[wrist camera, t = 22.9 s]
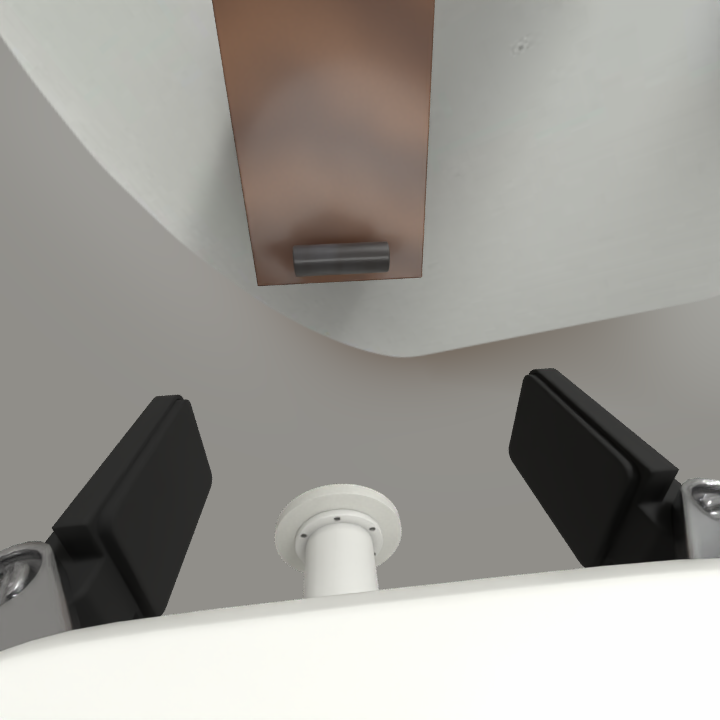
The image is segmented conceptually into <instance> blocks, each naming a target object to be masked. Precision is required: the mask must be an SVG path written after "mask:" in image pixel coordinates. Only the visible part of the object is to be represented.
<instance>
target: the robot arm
mask: <svg viewBox="0 0 720 720" xmlns="http://www.w3.org/2000/svg"><path fill="white" fill-rule="evenodd" d="M509 455H510V458H511V460H512V462H513V463H514V465H515V466H516V468H517V469H518V471H519V472H520V474H521V475H522V477H523V478H524V480H525V481H526V483H527V484H528V486H529V487H530V489H531V490H532V492H533V493H534V495H535V496H536V498H537V499H538V501H539V502H540V504H541V505H542V507H543V508H544V510H545V511H546V513H547V514H548V516H549V517H550V519H551V520H552V522H553V523H554V525H555V526H556V528H557V529H558V531H559V532H560V534H561V535H562V537H563V538H564V540H565V541H566V543H567V544H568V546H569V547H570V549H571V550H572V552H573V553H574V554H575V556H576V558H577V559H578V561H579V562H580V563H581V564H582V566H584V567H585V568H580V569H571V570H561V571H551V572H542V573H533V574H524V575H523V574H522V575H513V576H504V577H494V578H485V579H475V580H467V581H457V582H449V583H439V584H430V585H421V586H412V587H403V588H394V589H385V590H379V587H378V580H377V572H376V565H375V557H376V556H377V555H378V553H379V552H380V550H381V548H382V545H383V536H382V531H381V527H380V526H379V524H378V523H377V522H376V521H375V520H374V519H373V518H372V517H370V516H369V515H367V514H365V513H362V512H359V511H355V510H348V509H337V510H330V511H325V512H323V513H320V514H317V515H315V516H313V517H311V518H310V519H308V520H307V521H306V522H304V523H303V525H302V526H301V527H300V528H299V530H298V532H297V534H296V537H295V552H296V554H297V556H298V558H299V559H300V560H301V561H302V562H303V563H304V564H305V572H304V591H303V592H304V593H303V599H297V600H288V601H280V602H271V603H263V604H254V605H246V606H237V607H228V608H221V609H211V610H203V611H196V612H188V613H181V614H173V615H166V616H161V615H162V614H163V612H164V610H165V608H166V606H167V603H168V601H169V598H170V595H171V592H172V590H173V587H174V585H175V582H176V579H177V577H178V574H179V571H180V568H181V566H182V563H183V560H184V558H185V555H186V552H187V550H188V547H189V544H190V542H191V539H192V536H193V534H194V531H195V528H196V525H197V523H198V520H199V518H200V515H201V512H202V509H203V507H204V504H205V501H206V499H207V496H208V493H209V491H210V488H211V484H212V474H211V470H210V467H209V464H208V460H207V457H206V453H205V450H204V447H203V443H202V440H201V437H200V434H199V430H198V427H197V423H196V420H195V417H194V413H193V410H192V407H191V404H190V402H189V400H183V398H182V396H180V395H170V396H169V395H168V396H157V397H155V398H154V399H153V400H152V402H151V403H150V404H149V405H148V406H147V408H146V409H145V410H144V411H143V413H142V414H141V415H140V417H139V418H138V419H137V420H136V422H135V423H134V424H133V425H132V427H131V428H130V429H129V430H128V432H127V433H126V434H125V436H124V437H123V438H122V439H121V441H120V442H119V443H118V444H117V446H116V447H115V448H114V450H113V451H112V452H111V453H110V455H109V456H108V457H107V458H106V460H105V461H104V462H103V463H102V465H101V466H100V467H99V469H98V470H97V471H96V472H95V474H94V475H93V476H92V477H91V479H90V480H89V481H88V483H87V484H86V485H85V486H84V488H83V489H82V490H81V491H80V493H79V494H78V495H77V497H76V498H75V499H74V500H73V502H72V503H71V504H70V505H69V507H68V508H67V509H66V510H65V512H64V513H63V514H62V516H61V517H60V518H59V519H58V521H57V522H56V523H55V524H54V526H53V527H52V529H53V531H54V532H53V533H52V534H51V536H50V537H49V538H48V539H47V541H46V542H45V543H44V542H41V541H32V542H25V543H21V544H17V545H14V546H11V547H9V548H6V549H4V550H2V551H0V720H720V481H716V480H712V479H706V478H694V479H688V480H687V481H686V482H684V483H683V484H682V485H681V484H680V483H679V482H678V481H677V480H675V479H674V478H675V476H676V474H677V472H678V470H679V469H678V468H677V467H675V466H674V465H673V464H672V463H670V462H669V461H668V460H667V459H665V458H664V457H663V456H662V455H661V454H659V453H658V452H657V451H656V450H655V449H653V448H652V447H651V446H650V445H648V444H647V443H646V442H645V441H643V440H642V439H641V438H640V437H639V436H637V435H636V434H635V433H634V432H632V431H631V430H630V429H629V428H627V427H626V426H625V425H624V424H623V423H621V422H620V421H619V420H618V419H616V418H615V417H614V416H613V415H611V414H610V413H609V412H608V411H606V410H605V409H604V408H603V407H601V406H600V405H599V404H598V403H597V402H596V401H594V400H593V399H592V398H591V397H589V396H588V395H587V394H586V393H584V392H583V391H582V390H581V389H579V388H578V387H577V386H576V385H575V384H573V383H572V382H571V381H570V380H568V379H567V378H566V377H565V376H564V375H562V374H561V373H560V372H559V371H557V370H556V369H554V368H548V369H535V370H532V371H530V373H529V375H526V376H525V377H524V379H523V383H522V388H521V393H520V397H519V402H518V407H517V412H516V416H515V421H514V425H513V430H512V435H511V440H510V444H509Z"/></svg>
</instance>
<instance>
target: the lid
mask: <svg viewBox="0 0 720 720" xmlns="http://www.w3.org/2000/svg"><path fill="white" fill-rule="evenodd" d="M212 4H213V10H214V16H215V23H216V29H217V35H218V41H219V47H220V54H221V60H222V66H223V72H224V79H225V85H226V91H227V97H228V104H229V110H230V116H231V122H232V128H233V135H234V141H235V147H236V153H237V160H238V166H239V172H240V178H241V184H242V191H243V197H244V203H245V209H246V216H247V222H248V228H249V234H250V240H251V247H252V253H253V259H254V265H255V272H256V278H257V284H258V286H268V285H288V284H307V283H326V282H345V281H365V280H384V279H403V278H421V277H422V264H423V243H424V221H425V200H426V179H427V157H428V136H429V115H430V93H431V72H432V51H433V29H434V8H435V0H212Z"/></svg>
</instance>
